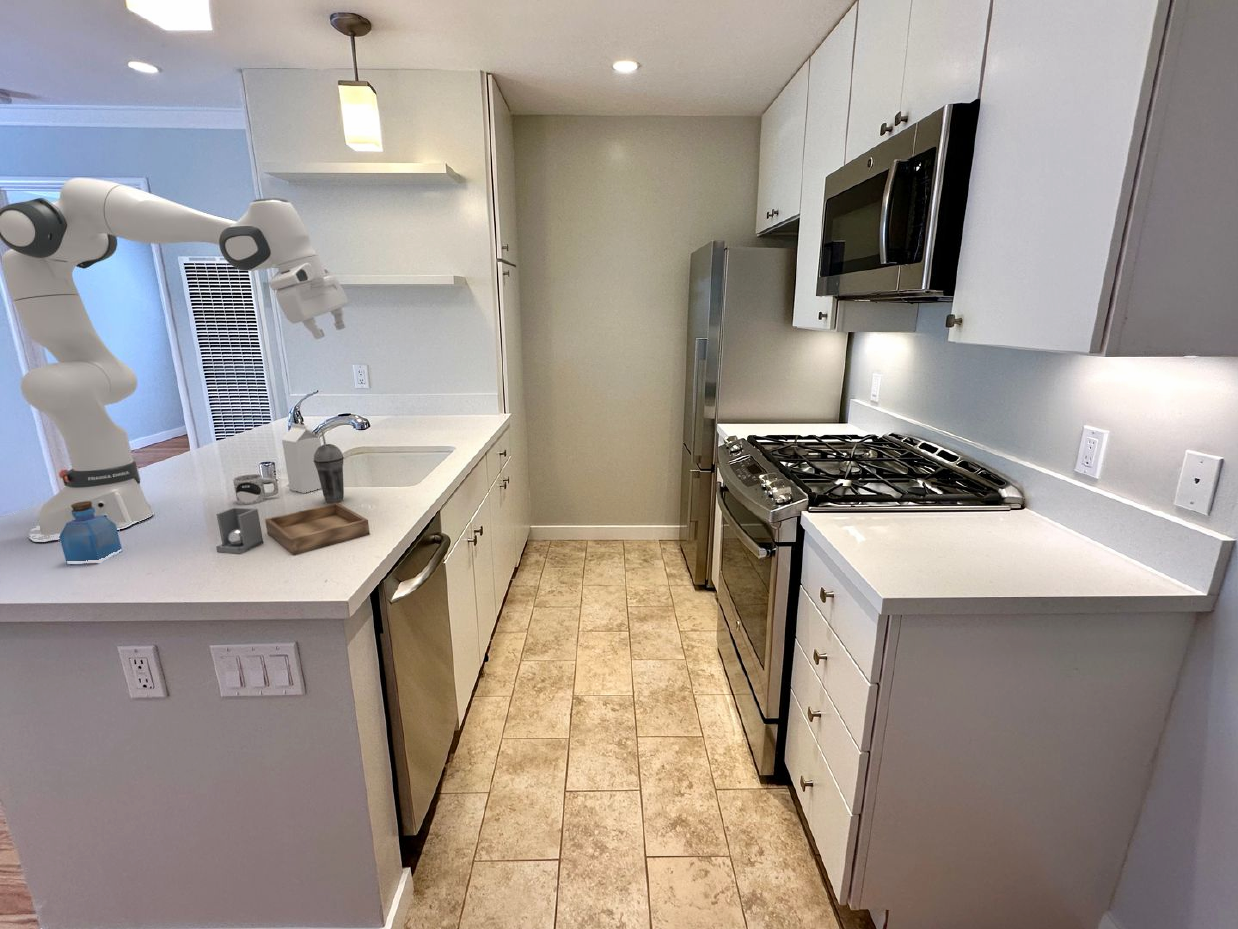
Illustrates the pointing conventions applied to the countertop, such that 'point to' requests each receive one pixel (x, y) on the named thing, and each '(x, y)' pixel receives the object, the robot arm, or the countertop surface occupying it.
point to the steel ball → (235, 537)
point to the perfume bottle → (88, 535)
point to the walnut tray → (316, 528)
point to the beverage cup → (330, 471)
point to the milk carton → (301, 458)
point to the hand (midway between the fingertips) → (331, 333)
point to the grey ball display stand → (246, 523)
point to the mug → (252, 489)
